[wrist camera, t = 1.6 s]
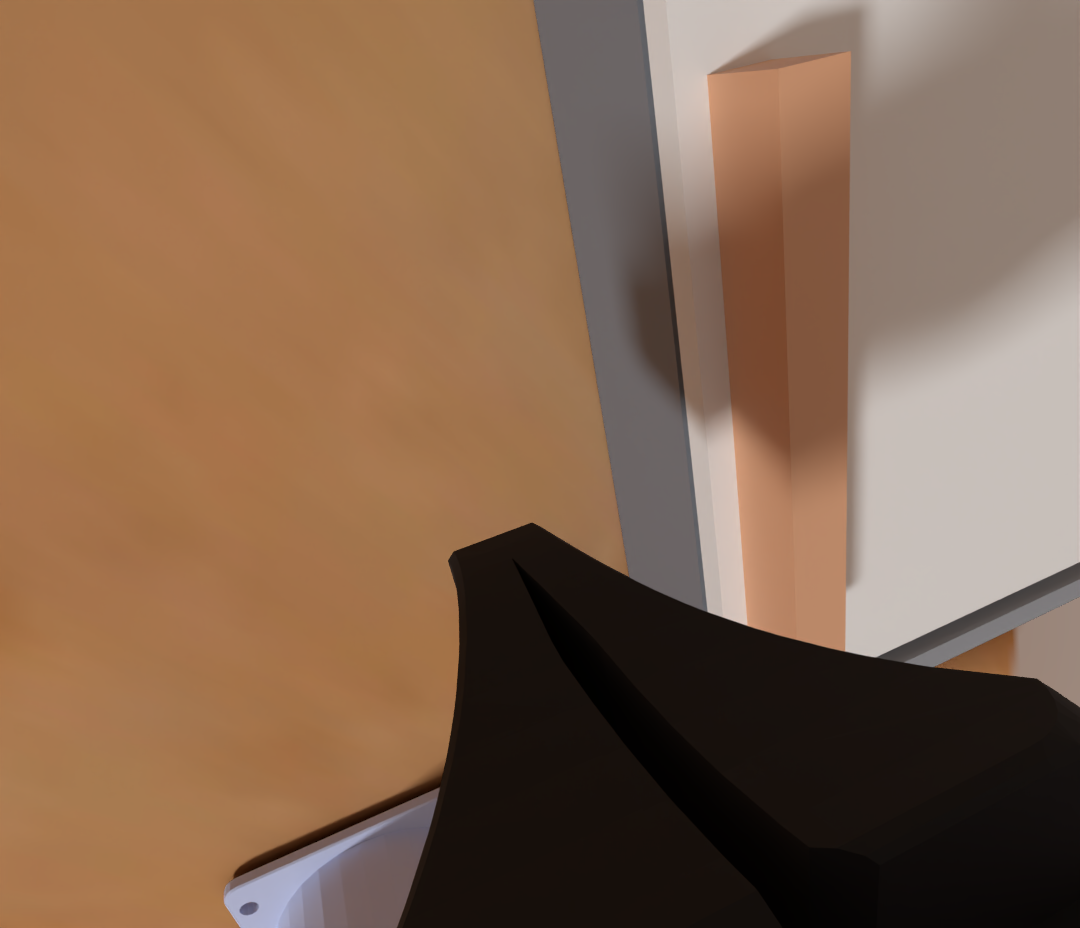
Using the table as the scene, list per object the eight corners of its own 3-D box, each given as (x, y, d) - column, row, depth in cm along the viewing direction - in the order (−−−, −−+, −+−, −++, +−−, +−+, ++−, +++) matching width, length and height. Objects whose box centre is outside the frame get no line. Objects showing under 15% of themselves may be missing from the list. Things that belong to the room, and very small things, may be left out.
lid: (1076, 540, 22) (1167, 586, 20) (717, 705, 19) (778, 779, 17) (1215, -191, 14) (1395, -248, 12) (633, -88, 11) (729, -135, 9)
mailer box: (942, 501, 26) (1100, 586, 21) (637, 629, 23) (740, 759, 19) (999, -181, 17) (1291, -295, 12) (516, -99, 15) (654, -205, 10)
